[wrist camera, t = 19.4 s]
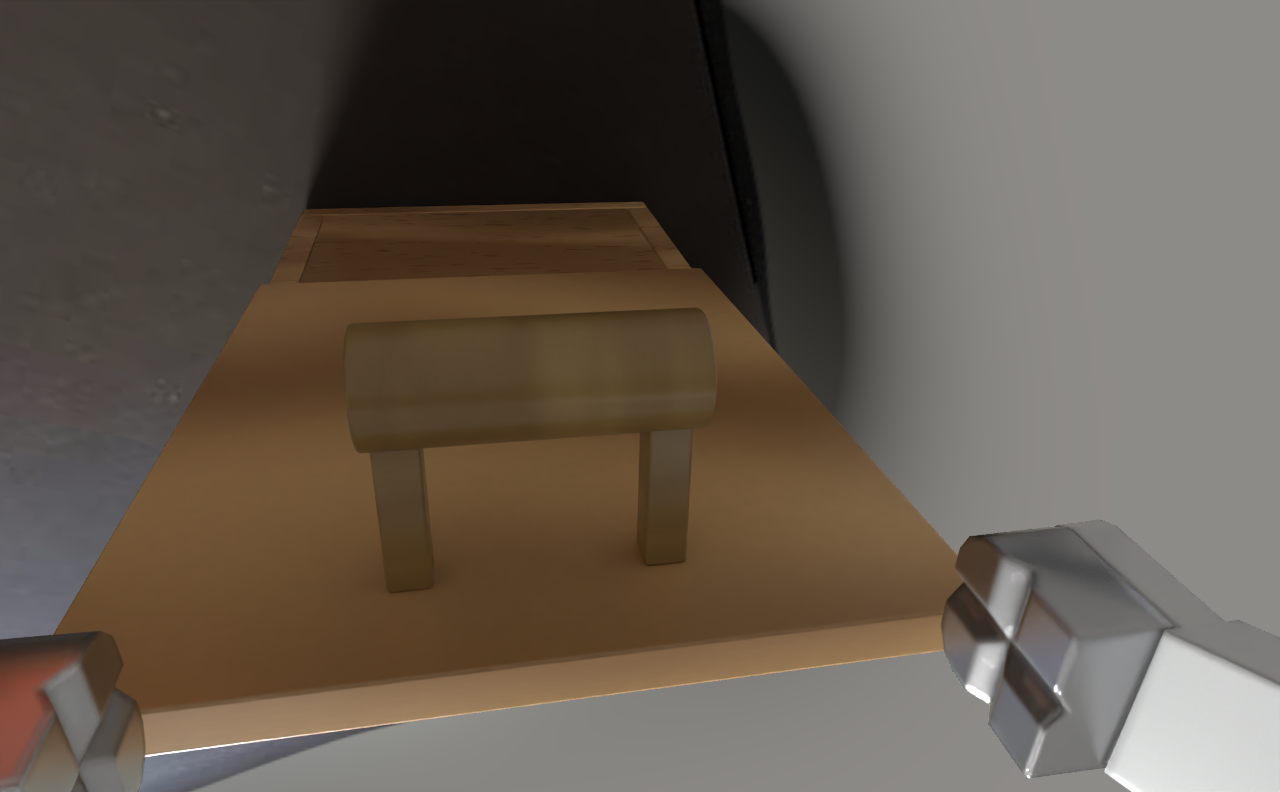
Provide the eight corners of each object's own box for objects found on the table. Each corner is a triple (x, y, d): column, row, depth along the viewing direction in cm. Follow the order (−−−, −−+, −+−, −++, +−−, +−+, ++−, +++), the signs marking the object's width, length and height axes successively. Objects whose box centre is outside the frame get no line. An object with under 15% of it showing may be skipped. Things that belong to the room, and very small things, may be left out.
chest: (631, 519, 45) (671, 642, 37) (354, 545, 42) (336, 683, 35) (643, 201, 37) (697, 274, 29) (303, 208, 34) (264, 290, 27)
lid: (993, 645, 14) (1069, 351, 11) (12, 776, 11) (-128, 426, 9) (699, 290, 29) (708, 137, 27) (264, 309, 26) (235, 141, 24)
